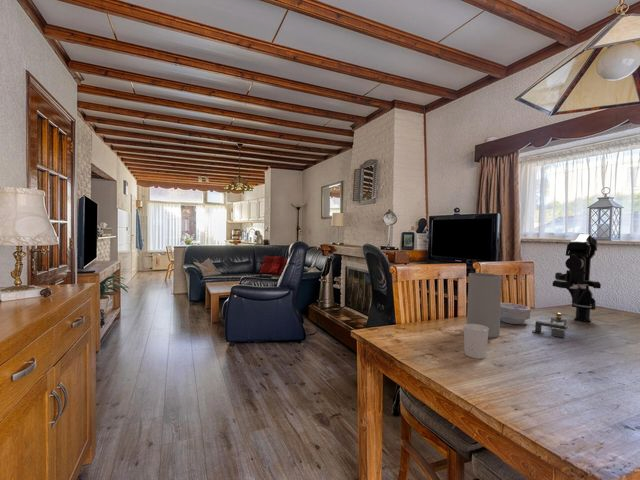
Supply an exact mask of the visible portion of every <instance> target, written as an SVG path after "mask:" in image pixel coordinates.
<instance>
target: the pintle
mask: <svg viewBox="0 0 640 480" xmlns="http://www.w3.org/2000/svg"><path fill="white" fill-rule="evenodd" d="M554 315H555V318H556V319H561V318H562V316H564V313H563V312H557V311H556V312H554ZM567 328H568V326H567V325H566V329H567Z"/></svg>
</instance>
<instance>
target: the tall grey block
mask: <svg viewBox="0 0 640 480" xmlns="http://www.w3.org/2000/svg"><path fill="white" fill-rule="evenodd" d="M502 278H503V276H502V275H500V274H495V273H487V272H486V273H483V272H481V273H480V272H470V273H468V282H467V283H468V286H467V287H468V289H467V314H466V315H467V316H466V324H478V325H483V326H486V327H488V328H489V331H488V339H493V338H498V337H499V336H500V332H501V331H500V328H501V327H500V326H501V324H500V309H501V303H502V301H501V300H502V282H503V281H502V280H503V279H502Z"/></svg>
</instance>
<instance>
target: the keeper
mask: <svg viewBox="0 0 640 480" xmlns="http://www.w3.org/2000/svg"><path fill="white" fill-rule="evenodd" d="M542 326H543V327H546V328H547V327H548V328H552V327H553V328H559V329H564V330H566V329H567V328H566V326H567V324H566V325H560V324H554V323H551V322H546V321H541V320H540V321H539V320H536V321H535V327H534V329H533V330H532V331H531V333H532V334H537V335H544V334H545V331H543V330H542Z"/></svg>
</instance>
